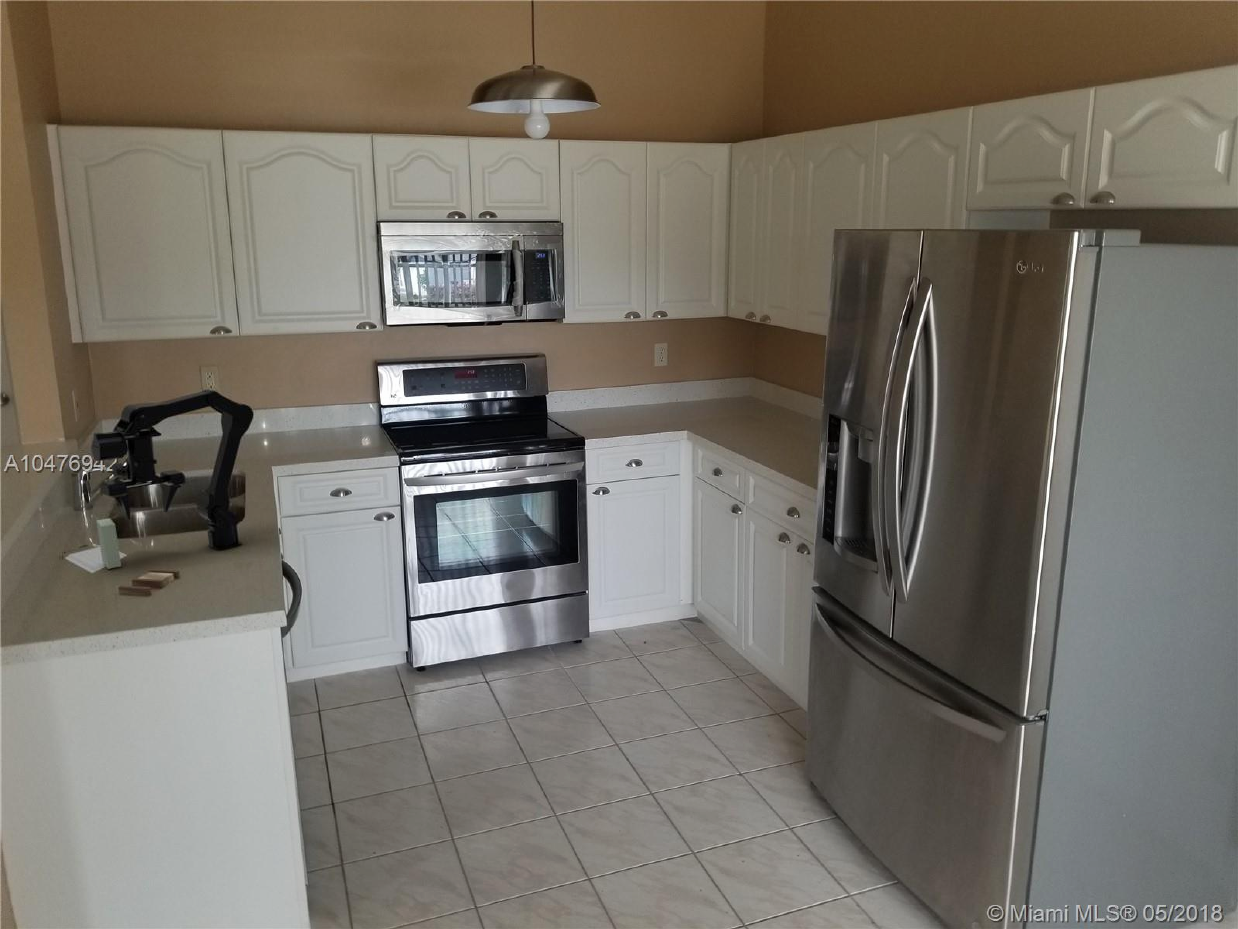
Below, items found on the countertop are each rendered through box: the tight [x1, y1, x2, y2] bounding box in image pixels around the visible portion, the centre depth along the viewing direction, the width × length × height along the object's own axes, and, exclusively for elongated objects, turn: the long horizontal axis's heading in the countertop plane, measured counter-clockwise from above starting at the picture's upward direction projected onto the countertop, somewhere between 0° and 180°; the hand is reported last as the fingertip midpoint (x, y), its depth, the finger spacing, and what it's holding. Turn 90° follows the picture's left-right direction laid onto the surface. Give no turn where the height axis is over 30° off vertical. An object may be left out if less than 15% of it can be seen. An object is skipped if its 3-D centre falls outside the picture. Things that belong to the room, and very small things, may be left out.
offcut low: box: [164, 577, 174, 585], centre depth 222 cm, size 4×6×1 cm, turn 80°
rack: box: [117, 568, 181, 597], centre depth 220 cm, size 12×8×3 cm, turn 170°
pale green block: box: [96, 517, 122, 570], centre depth 232 cm, size 3×6×11 cm, turn 39°
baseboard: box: [60, 544, 128, 574], centre depth 235 cm, size 31×3×12 cm
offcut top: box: [137, 572, 174, 582], centre depth 222 cm, size 4×6×1 cm, turn 80°
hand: (147, 515), depth 233 cm, fingers open, 9 cm apart
